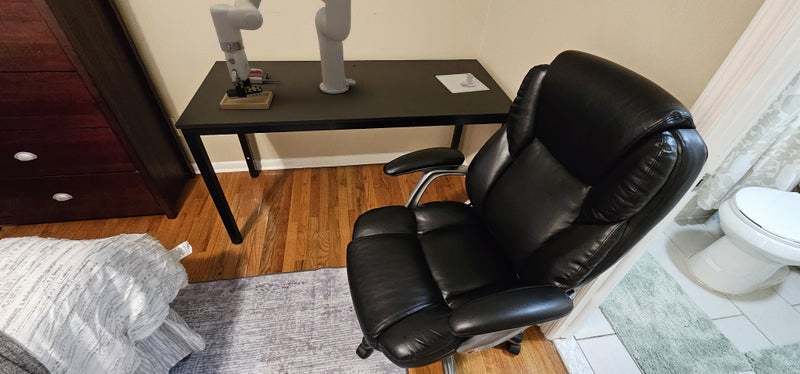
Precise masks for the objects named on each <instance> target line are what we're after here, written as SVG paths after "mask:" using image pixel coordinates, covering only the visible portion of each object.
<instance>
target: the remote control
mask: <svg viewBox="0 0 800 374" xmlns="http://www.w3.org/2000/svg"><path fill="white" fill-rule="evenodd" d="M245 91H246V94H247V97H253V96H260V95H263V91H264V89H263V88H262V86H260V85H257V84H256V85H251V87H245ZM226 93H227V96H228V98H229V99H231V100H233V99H240V98H238V96H237V93H236V89H235V88H229V89H227V90H226V92H225V94H226Z"/></svg>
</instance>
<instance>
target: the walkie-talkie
mask: <svg viewBox="0 0 800 374" xmlns="http://www.w3.org/2000/svg"><path fill="white" fill-rule="evenodd" d="M248 78H250V82H251V84H260V85H261V84H263V83H275V82H277V83H278V82H281V79H267V78H269V72H267V70H262V68H250V74H249V77H248ZM237 79H240V78H237Z"/></svg>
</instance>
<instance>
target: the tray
mask: <svg viewBox="0 0 800 374" xmlns="http://www.w3.org/2000/svg"><path fill="white" fill-rule="evenodd" d="M273 97H274V95H273V92H272V91H264V90H263V95H260V96H253V97H247V98H240V99H233V100H231V99H229V98H228V96H227V93H226V92H225V94H224V96H223V98H222V99H221V101H220V102H219V107H220V110H269V108H270V105H271V103H272V100H273Z"/></svg>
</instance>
